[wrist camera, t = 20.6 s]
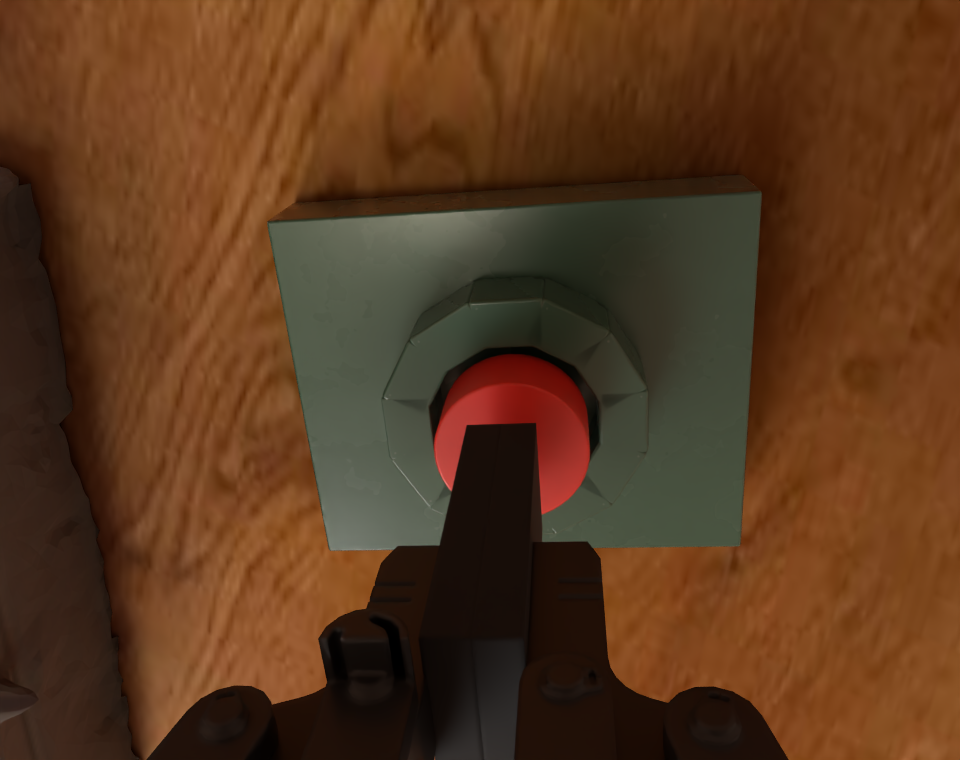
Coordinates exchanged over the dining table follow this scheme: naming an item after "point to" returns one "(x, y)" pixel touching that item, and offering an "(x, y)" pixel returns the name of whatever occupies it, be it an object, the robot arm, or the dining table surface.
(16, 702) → the bible
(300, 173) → the dining table surface
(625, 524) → the base
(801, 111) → the dining table surface
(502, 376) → the button
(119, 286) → the dining table surface
